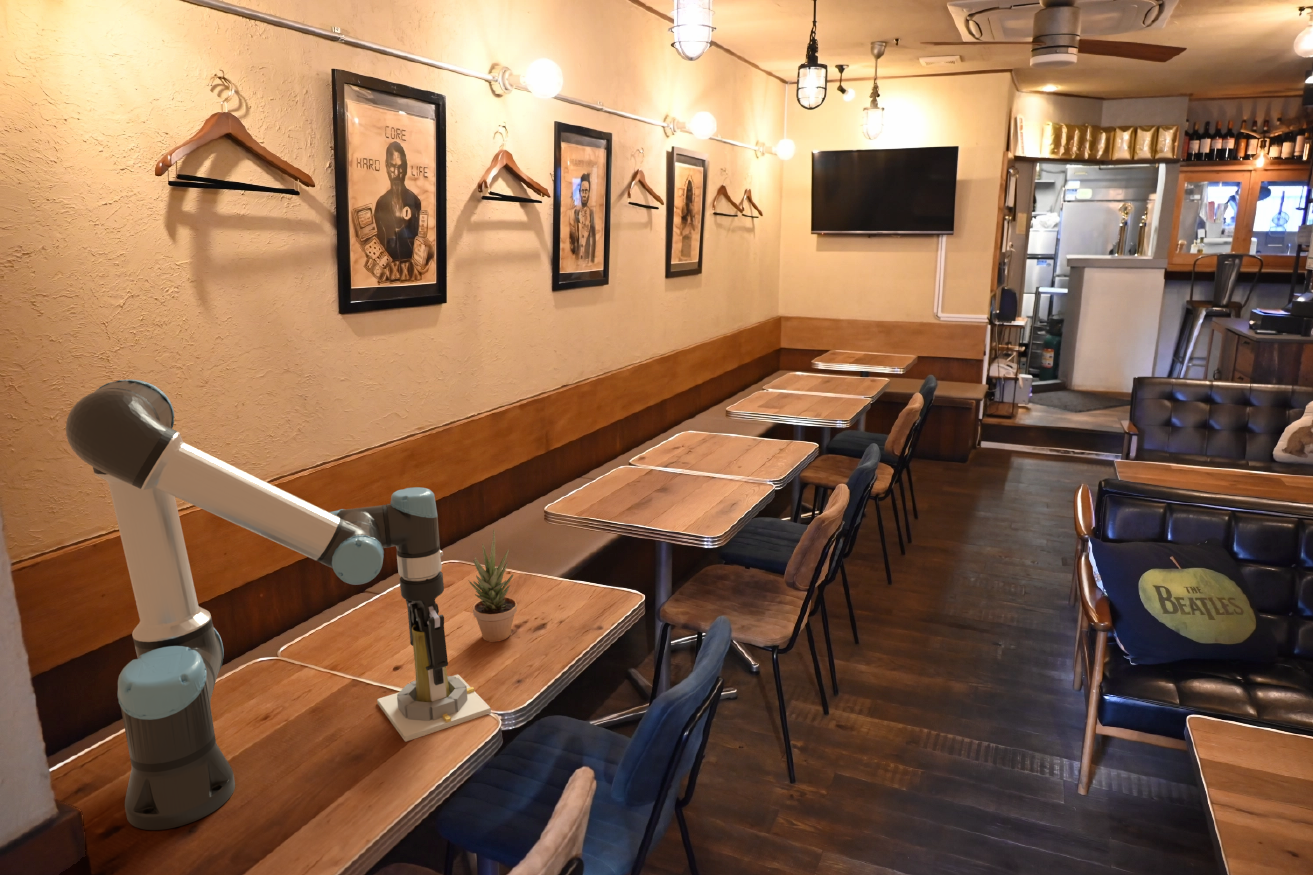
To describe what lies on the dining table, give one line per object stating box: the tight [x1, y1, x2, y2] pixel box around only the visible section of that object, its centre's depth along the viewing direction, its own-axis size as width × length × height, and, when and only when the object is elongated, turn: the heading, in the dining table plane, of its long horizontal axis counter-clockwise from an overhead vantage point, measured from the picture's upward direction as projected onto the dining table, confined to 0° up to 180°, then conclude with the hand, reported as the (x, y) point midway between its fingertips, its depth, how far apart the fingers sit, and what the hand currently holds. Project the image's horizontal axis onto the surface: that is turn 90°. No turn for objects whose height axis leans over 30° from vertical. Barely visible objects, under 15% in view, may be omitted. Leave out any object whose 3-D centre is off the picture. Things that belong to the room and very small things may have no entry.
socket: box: [376, 674, 492, 742], centre depth 162 cm, size 16×16×4 cm
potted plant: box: [468, 528, 518, 643], centre depth 190 cm, size 10×10×25 cm
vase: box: [412, 625, 450, 702], centre depth 161 cm, size 6×6×14 cm
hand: (432, 691), depth 162 cm, fingers closed on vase, 6 cm apart
